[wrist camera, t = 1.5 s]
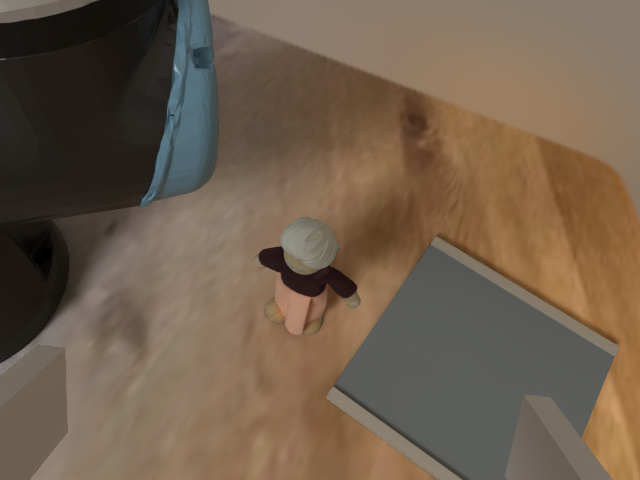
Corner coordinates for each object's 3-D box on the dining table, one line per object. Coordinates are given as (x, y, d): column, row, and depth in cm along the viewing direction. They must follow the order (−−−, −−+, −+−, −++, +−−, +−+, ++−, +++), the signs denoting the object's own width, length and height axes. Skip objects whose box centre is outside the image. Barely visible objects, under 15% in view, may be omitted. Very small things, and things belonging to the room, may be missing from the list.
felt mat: (325, 398, 36) (326, 395, 35) (433, 240, 43) (435, 235, 42) (532, 549, 32) (537, 549, 32) (614, 349, 39) (620, 346, 38)
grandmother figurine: (246, 327, 38) (230, 247, 27) (259, 281, 40) (251, 189, 29) (346, 350, 38) (372, 279, 27) (355, 303, 40) (383, 218, 28)
